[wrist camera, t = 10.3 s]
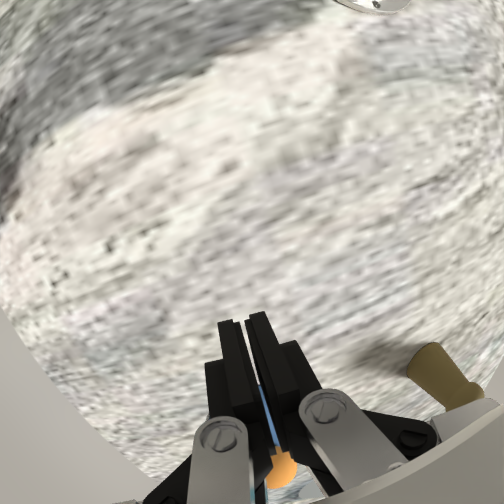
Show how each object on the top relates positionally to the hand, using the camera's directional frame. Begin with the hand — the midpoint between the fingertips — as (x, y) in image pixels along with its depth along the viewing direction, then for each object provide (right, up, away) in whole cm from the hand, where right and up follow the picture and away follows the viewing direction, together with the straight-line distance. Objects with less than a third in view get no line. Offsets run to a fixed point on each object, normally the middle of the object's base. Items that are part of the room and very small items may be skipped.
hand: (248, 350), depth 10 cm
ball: (+3, -23, +19) cm, 30 cm away
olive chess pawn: (+23, -11, +23) cm, 34 cm away
